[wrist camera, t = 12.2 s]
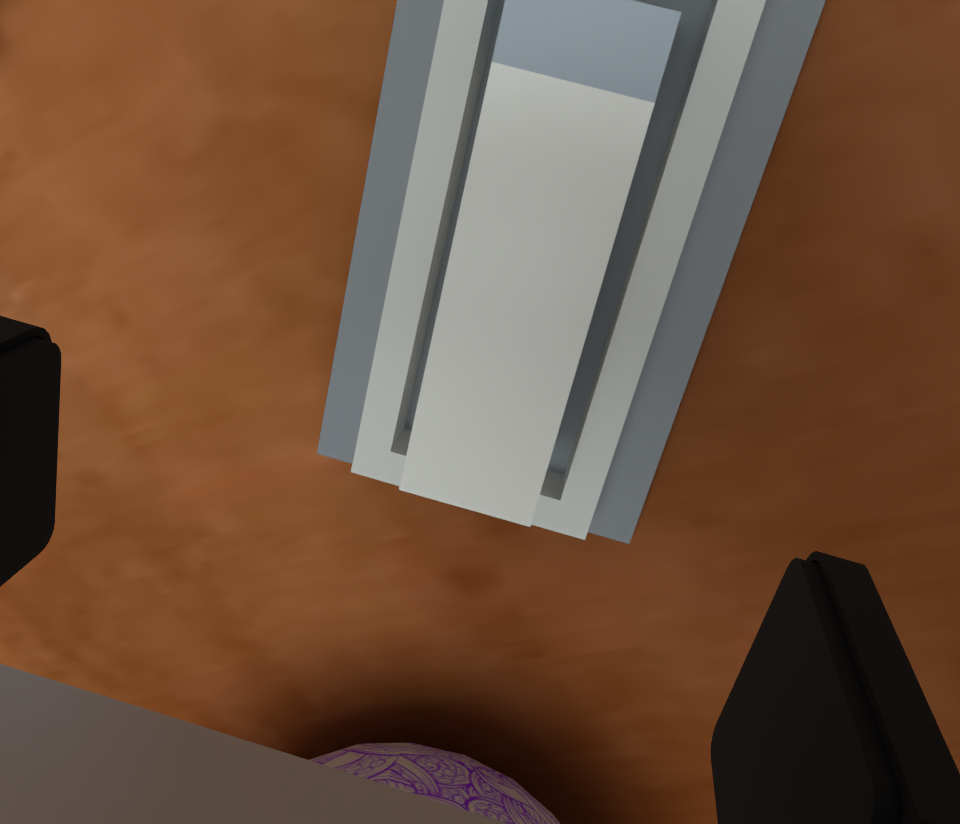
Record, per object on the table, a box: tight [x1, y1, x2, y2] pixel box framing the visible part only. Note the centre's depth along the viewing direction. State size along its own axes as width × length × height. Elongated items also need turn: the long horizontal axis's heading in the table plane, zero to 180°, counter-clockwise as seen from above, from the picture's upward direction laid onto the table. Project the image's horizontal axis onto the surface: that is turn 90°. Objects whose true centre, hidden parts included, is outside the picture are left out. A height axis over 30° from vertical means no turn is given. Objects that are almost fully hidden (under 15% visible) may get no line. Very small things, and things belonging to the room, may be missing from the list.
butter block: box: [399, 0, 681, 527], centre depth 26 cm, size 14×4×6 cm, turn 167°
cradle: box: [317, 0, 826, 544], centre depth 28 cm, size 20×12×3 cm, turn 167°
